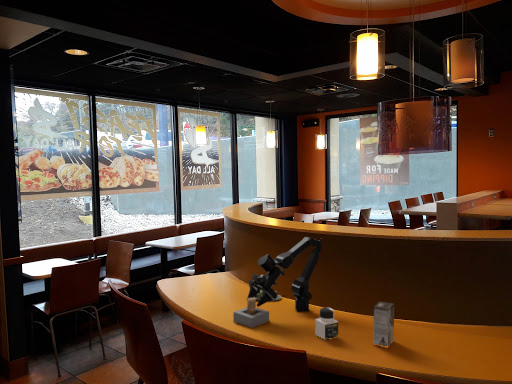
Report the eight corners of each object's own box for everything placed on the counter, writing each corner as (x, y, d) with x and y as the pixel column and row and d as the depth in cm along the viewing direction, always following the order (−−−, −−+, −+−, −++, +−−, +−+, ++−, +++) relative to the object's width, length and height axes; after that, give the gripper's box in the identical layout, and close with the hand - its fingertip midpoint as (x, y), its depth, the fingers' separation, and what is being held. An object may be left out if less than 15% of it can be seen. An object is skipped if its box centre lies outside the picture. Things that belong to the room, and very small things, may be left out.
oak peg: (257, 319, 189) (257, 298, 189) (253, 321, 185) (253, 300, 185) (249, 317, 191) (249, 297, 190) (245, 320, 187) (245, 299, 187)
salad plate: (281, 292, 236) (281, 284, 236) (288, 301, 218) (288, 293, 218) (249, 293, 233) (249, 285, 233) (253, 303, 216) (253, 294, 216)
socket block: (250, 314, 197) (250, 305, 196) (269, 320, 188) (269, 311, 188) (233, 321, 188) (233, 311, 188) (251, 327, 180) (251, 318, 179)
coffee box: (378, 337, 169) (379, 300, 168) (394, 341, 166) (394, 303, 165) (372, 345, 161) (373, 306, 161) (388, 349, 158) (389, 309, 157)
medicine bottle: (325, 340, 166) (325, 312, 165) (314, 334, 172) (315, 307, 172) (338, 337, 169) (338, 310, 169) (328, 331, 175) (328, 305, 175)
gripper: (251, 263, 198) (232, 288, 193) (272, 271, 182) (251, 299, 177) (264, 277, 202) (246, 301, 197) (286, 285, 187) (266, 313, 181)
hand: (252, 303), depth 188 cm, fingers open, 9 cm apart
